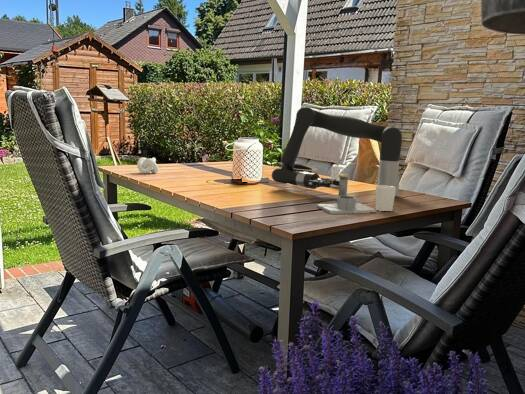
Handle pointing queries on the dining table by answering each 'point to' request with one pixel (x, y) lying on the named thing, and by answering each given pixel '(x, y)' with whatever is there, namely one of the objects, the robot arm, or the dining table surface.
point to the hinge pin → (343, 184)
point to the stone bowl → (300, 167)
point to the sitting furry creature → (335, 173)
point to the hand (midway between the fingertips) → (335, 184)
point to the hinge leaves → (345, 206)
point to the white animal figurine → (147, 165)
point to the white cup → (385, 197)
